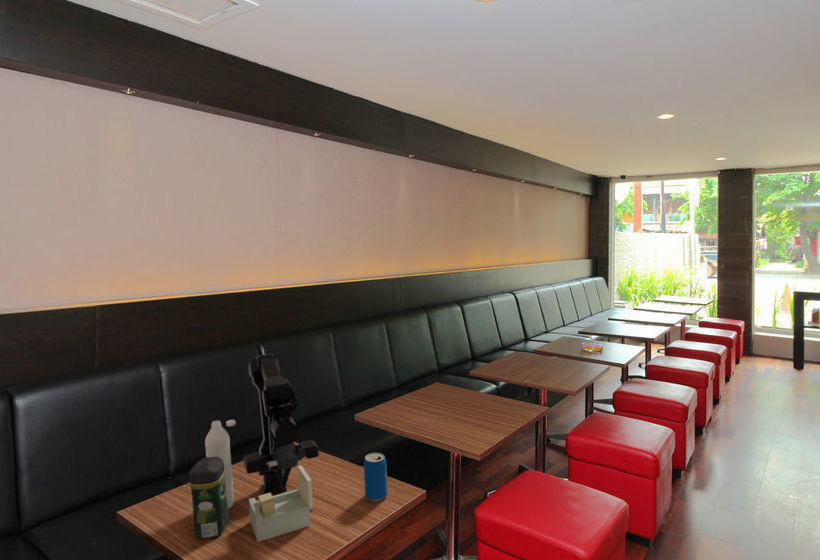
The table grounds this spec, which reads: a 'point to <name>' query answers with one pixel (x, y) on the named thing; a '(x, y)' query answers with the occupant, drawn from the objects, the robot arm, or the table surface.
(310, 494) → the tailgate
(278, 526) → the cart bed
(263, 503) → the block
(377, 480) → the beverage can
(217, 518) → the coffee jar
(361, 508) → the table surface
